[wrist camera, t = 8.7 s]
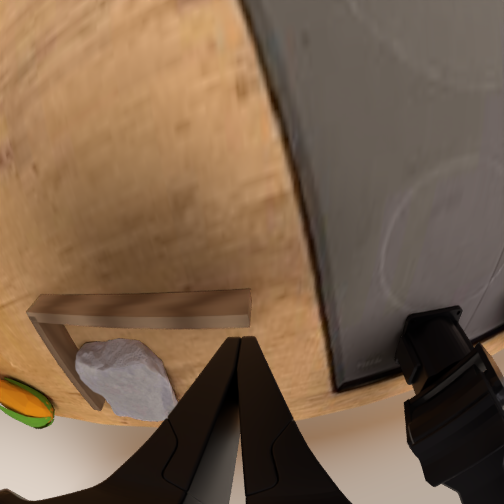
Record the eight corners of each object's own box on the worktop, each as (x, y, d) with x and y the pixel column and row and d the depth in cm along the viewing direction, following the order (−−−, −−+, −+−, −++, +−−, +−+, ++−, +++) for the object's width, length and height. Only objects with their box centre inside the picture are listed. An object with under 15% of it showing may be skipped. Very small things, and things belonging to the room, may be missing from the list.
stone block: (149, 321, 27) (75, 340, 27) (144, 357, 23) (63, 372, 23) (193, 387, 33) (126, 399, 33) (195, 419, 29) (123, 428, 28)
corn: (54, 445, 31) (-12, 409, 31) (69, 414, 38) (4, 386, 38) (33, 421, 28) (-30, 384, 28) (52, 388, 35) (-12, 361, 35)
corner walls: (250, 288, 22) (248, 314, 20) (265, 403, 30) (265, 425, 27) (40, 294, 24) (25, 311, 21) (101, 392, 32) (93, 409, 29)
